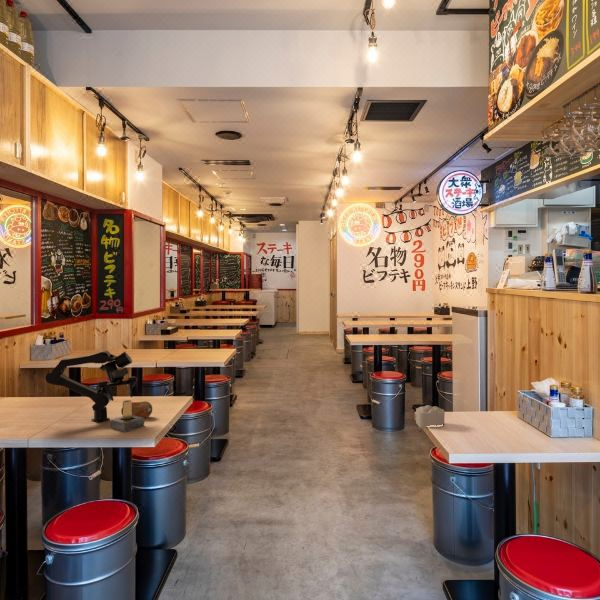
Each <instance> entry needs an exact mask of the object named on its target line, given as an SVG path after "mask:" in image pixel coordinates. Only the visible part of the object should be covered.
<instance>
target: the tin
mask: <svg viewBox="0 0 600 600" xmlns="http://www.w3.org/2000/svg"><path fill="white" fill-rule="evenodd" d="M120 412H121V415H122V416H123V406H121V411H120ZM151 414H153V406H152V404H151V403H150V402H149V401H146V400H145V401H144V400H143V401H142V400H141V401H132V415H135V416H139V417H143V418H144V419H146V418H145V417H147V418H149V417H150V416H151Z"/></svg>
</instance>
